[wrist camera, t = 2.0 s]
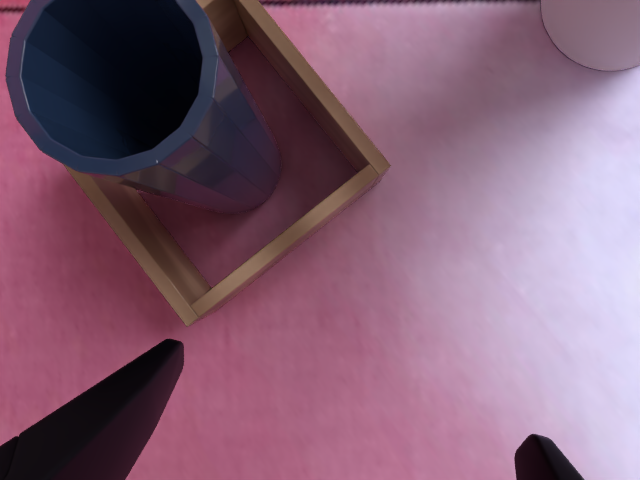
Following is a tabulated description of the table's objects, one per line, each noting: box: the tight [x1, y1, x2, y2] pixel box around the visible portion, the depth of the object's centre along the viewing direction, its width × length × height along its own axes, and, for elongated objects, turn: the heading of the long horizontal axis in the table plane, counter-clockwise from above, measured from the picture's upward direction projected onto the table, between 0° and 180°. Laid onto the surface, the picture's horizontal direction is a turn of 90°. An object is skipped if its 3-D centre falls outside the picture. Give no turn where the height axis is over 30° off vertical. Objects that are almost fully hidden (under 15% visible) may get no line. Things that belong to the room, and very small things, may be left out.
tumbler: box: [5, 0, 282, 214], centre depth 17 cm, size 6×6×13 cm
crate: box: [63, 0, 391, 327], centre depth 22 cm, size 14×14×4 cm
